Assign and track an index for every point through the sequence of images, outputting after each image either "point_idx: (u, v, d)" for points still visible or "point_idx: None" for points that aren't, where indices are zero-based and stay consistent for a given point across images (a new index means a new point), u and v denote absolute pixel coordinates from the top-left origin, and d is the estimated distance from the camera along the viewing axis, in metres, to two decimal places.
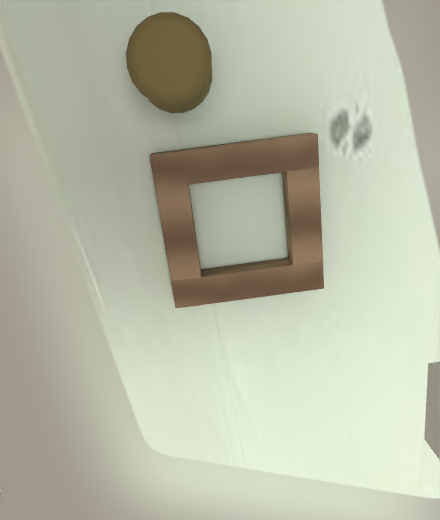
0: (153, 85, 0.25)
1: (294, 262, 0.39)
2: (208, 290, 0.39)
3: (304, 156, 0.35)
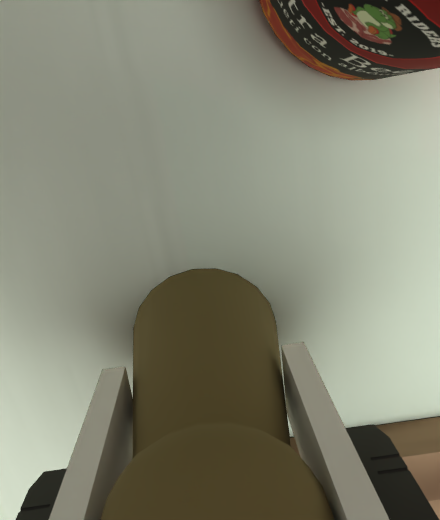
0: None
1: None
2: None
3: None
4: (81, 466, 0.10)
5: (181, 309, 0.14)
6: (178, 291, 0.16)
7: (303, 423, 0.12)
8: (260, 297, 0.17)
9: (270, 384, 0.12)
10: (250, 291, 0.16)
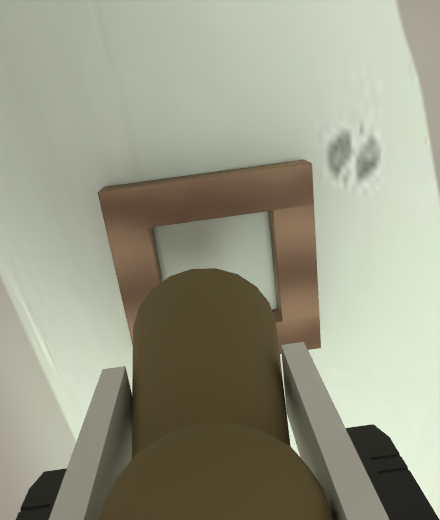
0: None
1: (284, 318, 0.31)
2: None
3: (295, 191, 0.28)
4: (81, 466, 0.10)
5: (181, 309, 0.14)
6: (178, 291, 0.16)
7: (303, 423, 0.12)
8: (260, 297, 0.17)
9: (270, 384, 0.12)
10: (250, 291, 0.16)
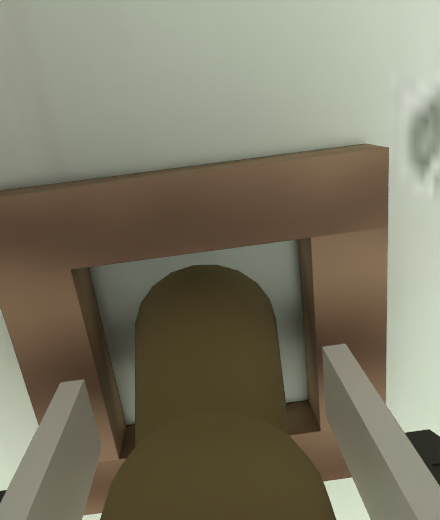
0: None
1: (323, 425, 0.18)
2: None
3: (354, 202, 0.15)
4: (21, 489, 0.10)
5: (182, 304, 0.15)
6: (179, 287, 0.16)
7: (354, 428, 0.11)
8: (260, 293, 0.17)
9: (269, 376, 0.12)
10: (250, 287, 0.17)
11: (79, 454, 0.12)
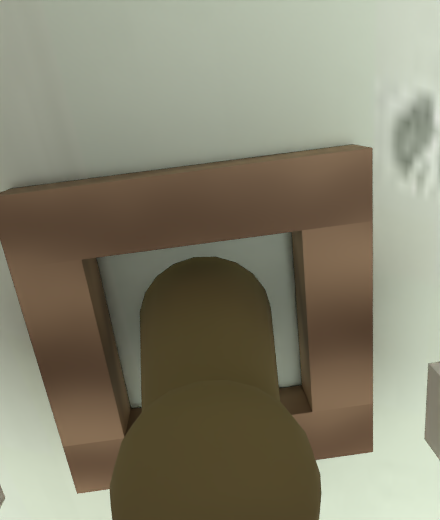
0: None
1: (315, 407, 0.19)
2: None
3: (341, 197, 0.16)
4: None
5: (183, 291, 0.16)
6: (181, 276, 0.17)
7: None
8: (256, 283, 0.18)
9: (263, 354, 0.14)
10: (247, 277, 0.18)
11: None
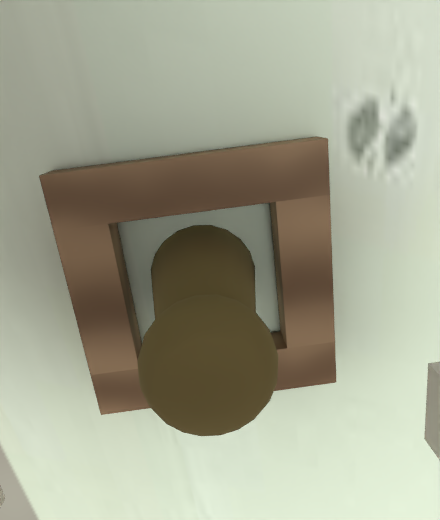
0: (183, 426, 0.15)
1: (289, 344, 0.24)
2: None
3: (305, 176, 0.21)
4: None
5: (186, 248, 0.21)
6: (184, 238, 0.22)
7: None
8: (242, 245, 0.23)
9: (244, 288, 0.19)
10: (235, 240, 0.23)
11: None
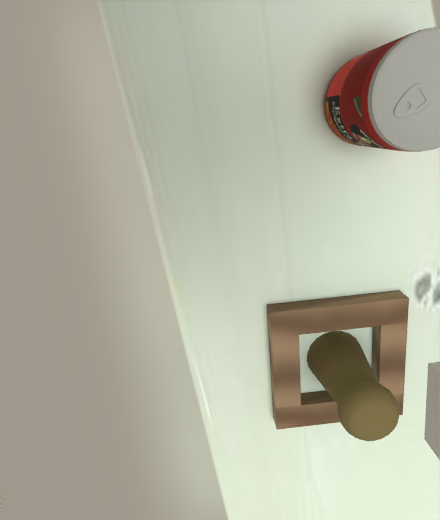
0: (361, 436, 0.36)
1: None
2: (306, 416, 0.46)
3: (396, 314, 0.43)
4: None
5: (337, 347, 0.43)
6: (331, 340, 0.44)
7: None
8: None
9: (372, 372, 0.40)
10: (355, 340, 0.45)
11: None
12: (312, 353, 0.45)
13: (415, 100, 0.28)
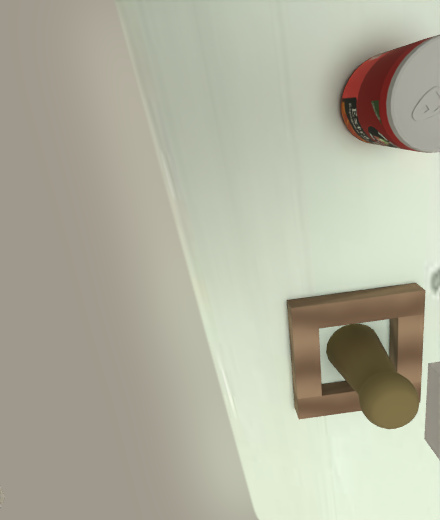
0: (383, 425, 0.38)
1: None
2: (327, 405, 0.48)
3: (413, 306, 0.44)
4: None
5: (356, 340, 0.44)
6: (350, 333, 0.45)
7: None
8: (375, 334, 0.47)
9: (391, 363, 0.42)
10: (373, 332, 0.46)
11: None
12: (331, 345, 0.46)
13: (433, 103, 0.29)
